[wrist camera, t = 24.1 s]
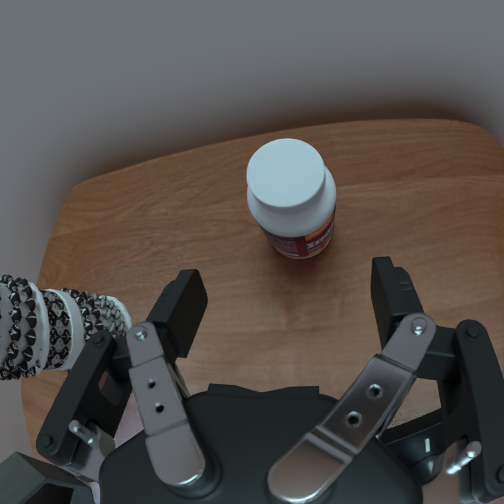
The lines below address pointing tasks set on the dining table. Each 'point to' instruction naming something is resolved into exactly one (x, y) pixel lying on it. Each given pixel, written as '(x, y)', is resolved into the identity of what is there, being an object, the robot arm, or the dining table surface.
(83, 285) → the dining table surface
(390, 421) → the robot arm
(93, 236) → the dining table surface
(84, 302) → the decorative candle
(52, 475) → the planter
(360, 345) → the dining table surface
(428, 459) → the hob knob
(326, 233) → the pill bottle
